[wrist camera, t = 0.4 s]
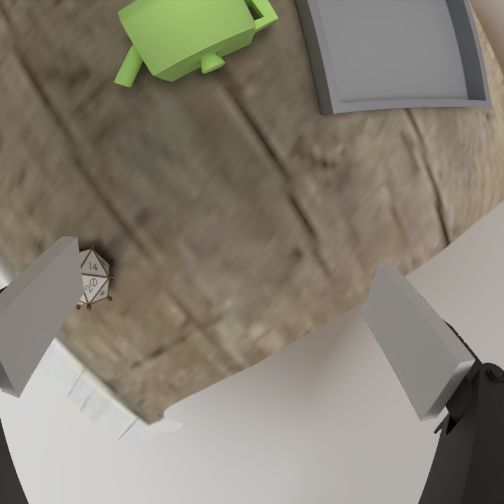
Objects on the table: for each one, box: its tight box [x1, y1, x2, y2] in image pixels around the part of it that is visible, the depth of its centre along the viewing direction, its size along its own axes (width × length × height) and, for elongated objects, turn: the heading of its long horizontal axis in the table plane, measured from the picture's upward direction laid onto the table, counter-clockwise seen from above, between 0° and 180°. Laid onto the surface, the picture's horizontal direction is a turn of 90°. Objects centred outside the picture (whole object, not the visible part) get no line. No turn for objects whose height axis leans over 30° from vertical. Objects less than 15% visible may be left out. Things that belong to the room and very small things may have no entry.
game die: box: [76, 242, 115, 311], centre depth 36 cm, size 9×8×10 cm
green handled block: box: [114, 0, 278, 87], centre depth 26 cm, size 18×10×10 cm, turn 116°
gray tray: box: [294, 0, 491, 114], centre depth 28 cm, size 19×24×5 cm
